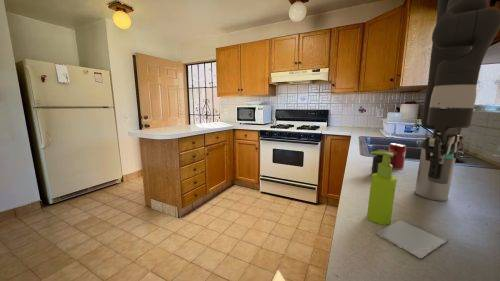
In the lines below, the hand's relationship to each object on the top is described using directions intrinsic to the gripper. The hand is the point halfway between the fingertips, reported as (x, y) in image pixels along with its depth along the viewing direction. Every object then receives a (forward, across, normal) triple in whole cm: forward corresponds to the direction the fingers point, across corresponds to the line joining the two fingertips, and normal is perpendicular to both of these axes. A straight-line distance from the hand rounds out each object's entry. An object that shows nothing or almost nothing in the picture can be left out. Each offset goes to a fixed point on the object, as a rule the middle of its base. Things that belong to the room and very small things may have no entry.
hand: (437, 176), depth 52 cm
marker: (+1, 0, 0) cm, 1 cm away
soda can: (+15, -53, -35) cm, 65 cm away
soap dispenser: (+16, +4, -11) cm, 20 cm away
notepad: (+16, +6, -1) cm, 17 cm away
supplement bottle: (+15, -33, -31) cm, 48 cm away
